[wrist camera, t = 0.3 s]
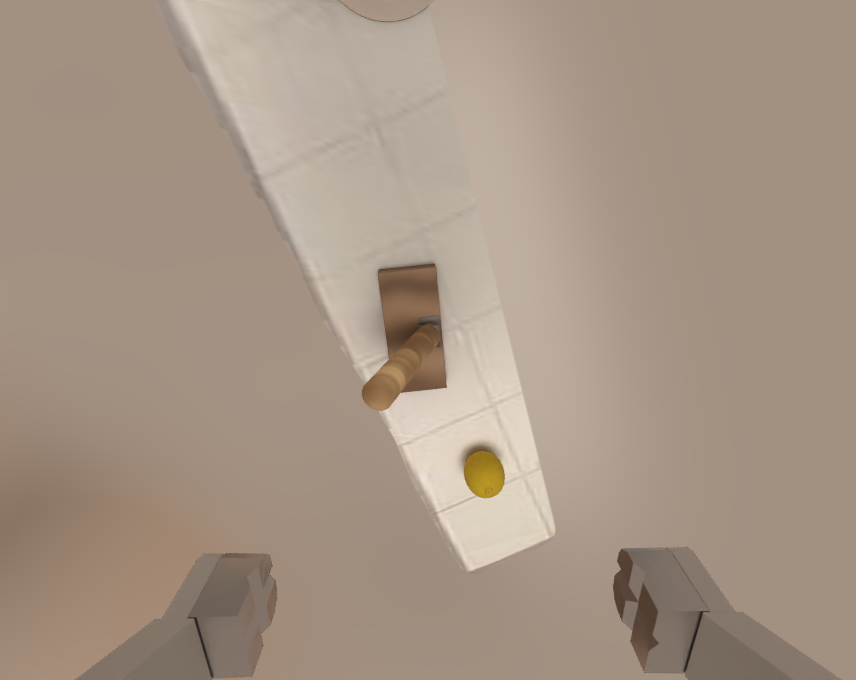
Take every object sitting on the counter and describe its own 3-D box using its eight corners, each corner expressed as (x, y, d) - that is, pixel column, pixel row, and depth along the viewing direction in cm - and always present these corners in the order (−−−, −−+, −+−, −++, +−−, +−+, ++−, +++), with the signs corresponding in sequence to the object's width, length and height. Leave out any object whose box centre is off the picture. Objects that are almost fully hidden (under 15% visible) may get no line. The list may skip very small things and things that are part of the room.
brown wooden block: (378, 269, 56) (377, 273, 53) (434, 263, 56) (435, 267, 53) (394, 385, 61) (393, 394, 58) (445, 379, 61) (446, 388, 59)
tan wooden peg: (418, 321, 55) (359, 380, 40) (441, 321, 55) (390, 381, 39) (421, 344, 56) (364, 409, 41) (443, 344, 56) (394, 411, 40)
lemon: (500, 440, 65) (512, 474, 57) (496, 472, 67) (507, 510, 59) (462, 440, 64) (469, 474, 57) (459, 472, 66) (466, 509, 59)
